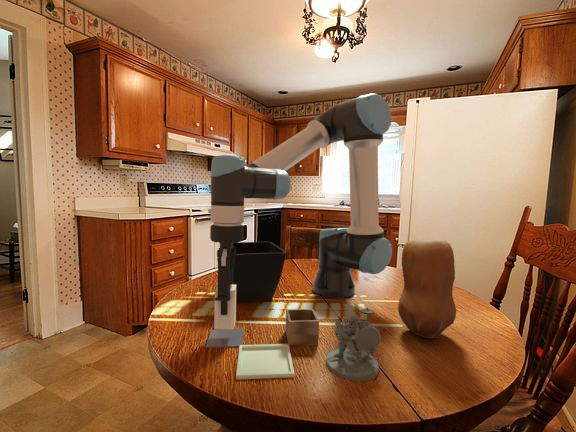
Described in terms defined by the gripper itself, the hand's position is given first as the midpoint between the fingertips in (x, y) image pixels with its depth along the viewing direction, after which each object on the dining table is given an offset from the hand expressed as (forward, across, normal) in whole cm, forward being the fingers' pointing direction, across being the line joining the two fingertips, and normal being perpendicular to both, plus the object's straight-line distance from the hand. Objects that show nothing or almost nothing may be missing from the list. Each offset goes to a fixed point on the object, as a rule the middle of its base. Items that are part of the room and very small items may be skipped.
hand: (225, 321), depth 69 cm
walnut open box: (+4, 0, +18) cm, 19 cm away
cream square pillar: (+1, 0, 0) cm, 1 cm away
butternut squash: (+4, 0, +50) cm, 50 cm away
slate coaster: (+4, 0, 0) cm, 4 cm away
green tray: (+4, +10, +9) cm, 14 cm away
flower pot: (+5, -30, +5) cm, 31 cm away
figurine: (+5, +12, +27) cm, 30 cm away
